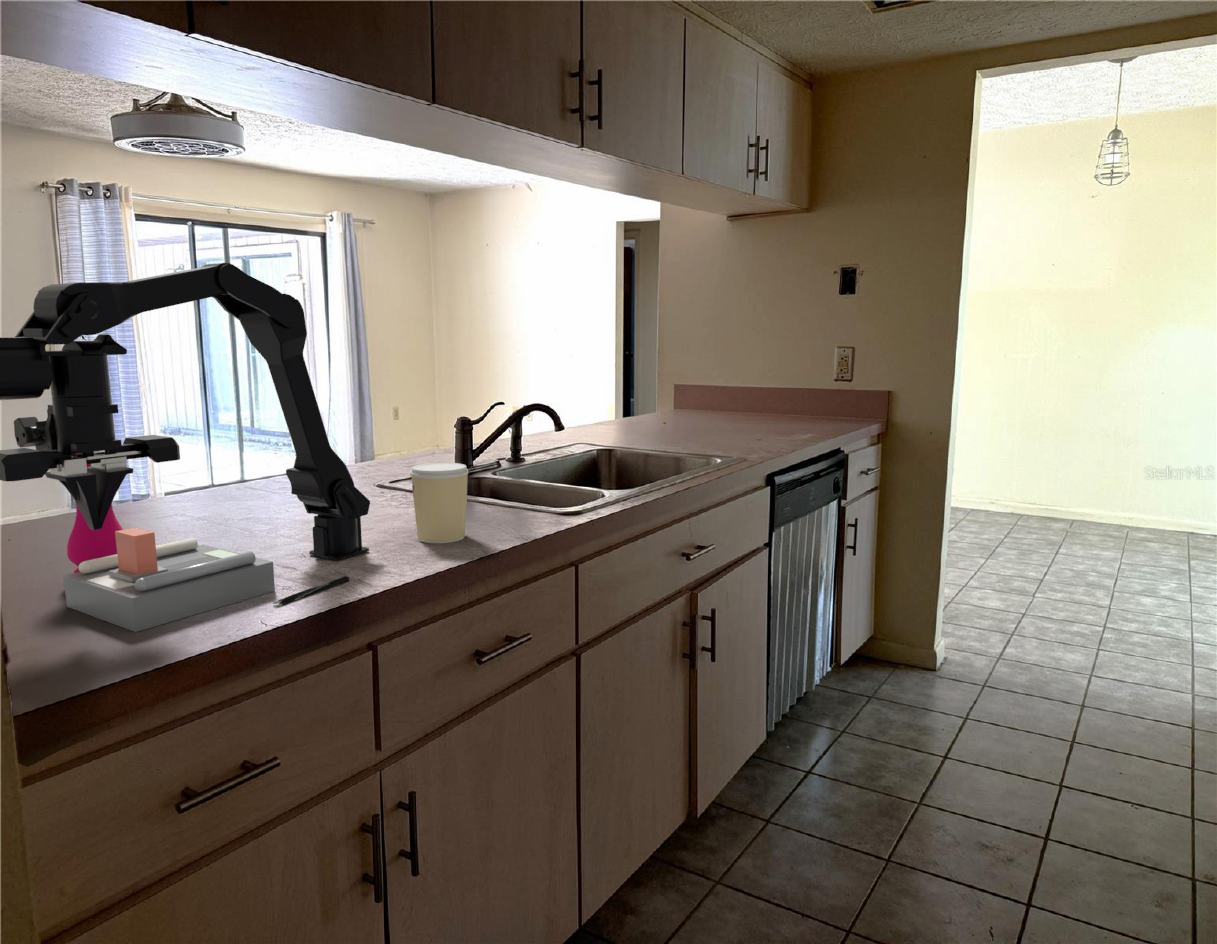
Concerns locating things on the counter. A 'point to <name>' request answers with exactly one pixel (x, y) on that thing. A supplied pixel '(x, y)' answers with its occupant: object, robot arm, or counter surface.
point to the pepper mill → (92, 538)
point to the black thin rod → (311, 591)
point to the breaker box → (168, 585)
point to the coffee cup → (440, 501)
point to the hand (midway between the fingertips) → (95, 529)
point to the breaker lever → (136, 555)
